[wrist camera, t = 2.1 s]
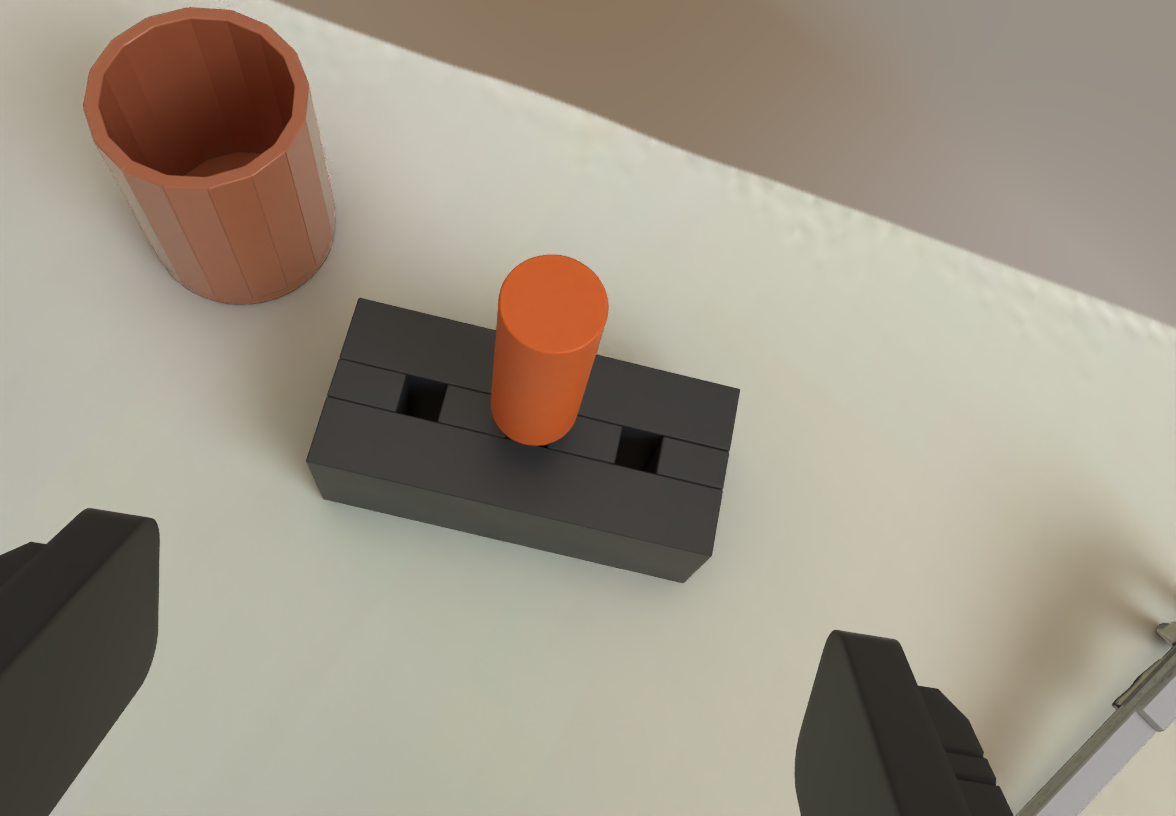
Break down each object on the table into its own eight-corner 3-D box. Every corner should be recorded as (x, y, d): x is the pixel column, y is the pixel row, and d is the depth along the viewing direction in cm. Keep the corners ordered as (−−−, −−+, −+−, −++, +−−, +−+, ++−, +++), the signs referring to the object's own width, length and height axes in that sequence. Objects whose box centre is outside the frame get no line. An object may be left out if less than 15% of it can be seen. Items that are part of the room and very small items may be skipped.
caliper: (1182, 593, 44) (1292, 562, 38) (1202, 613, 44) (1316, 584, 38) (864, 976, 38) (938, 1008, 32) (886, 1001, 38) (965, 1038, 32)
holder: (684, 583, 42) (711, 556, 37) (322, 499, 42) (305, 461, 37) (711, 431, 44) (740, 388, 40) (369, 350, 44) (358, 296, 39)
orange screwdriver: (501, 511, 42) (523, 368, 28) (474, 443, 43) (482, 272, 29) (571, 484, 43) (626, 332, 29) (543, 418, 44) (583, 240, 30)
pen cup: (183, 328, 43) (117, 215, 35) (134, 178, 45) (59, 37, 37) (359, 273, 45) (336, 152, 37) (304, 131, 47) (270, -14, 39)
